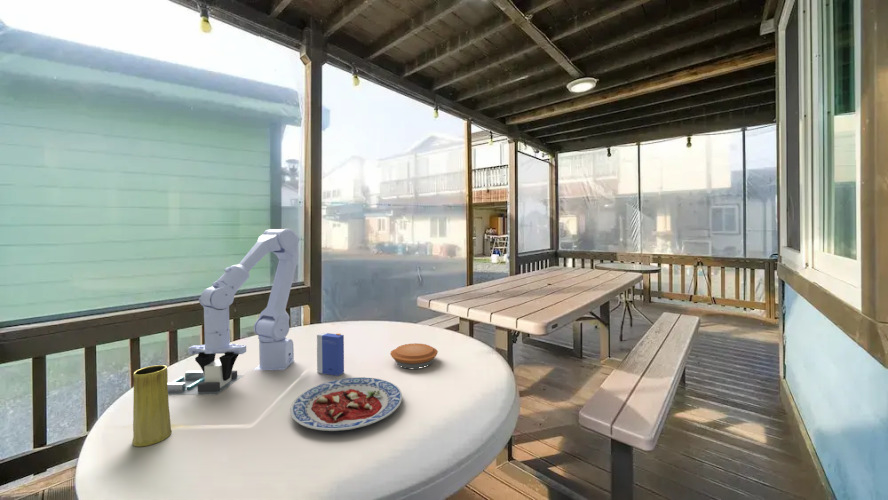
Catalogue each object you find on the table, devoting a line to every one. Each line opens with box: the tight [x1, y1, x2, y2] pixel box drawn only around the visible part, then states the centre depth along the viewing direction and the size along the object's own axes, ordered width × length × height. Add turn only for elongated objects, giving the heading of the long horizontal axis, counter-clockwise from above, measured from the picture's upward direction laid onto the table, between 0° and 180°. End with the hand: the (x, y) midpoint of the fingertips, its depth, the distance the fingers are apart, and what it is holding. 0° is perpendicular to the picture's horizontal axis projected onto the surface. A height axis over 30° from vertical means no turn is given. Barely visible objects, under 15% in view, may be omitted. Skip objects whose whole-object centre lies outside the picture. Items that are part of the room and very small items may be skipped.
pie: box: [389, 342, 439, 369], centre depth 111 cm, size 16×16×5 cm
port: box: [168, 370, 205, 392], centre depth 93 cm, size 7×9×2 cm
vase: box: [131, 364, 172, 448], centre depth 69 cm, size 6×6×14 cm
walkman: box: [316, 332, 345, 377], centre depth 102 cm, size 8×3×12 cm, turn 70°
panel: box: [168, 374, 244, 396], centre depth 93 cm, size 16×12×1 cm
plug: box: [204, 359, 231, 388], centre depth 93 cm, size 4×5×6 cm
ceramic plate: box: [290, 376, 403, 432], centre depth 82 cm, size 26×26×3 cm
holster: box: [198, 370, 238, 392], centre depth 93 cm, size 5×9×2 cm, turn 1°
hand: (218, 379), depth 93 cm, fingers open, 4 cm apart
